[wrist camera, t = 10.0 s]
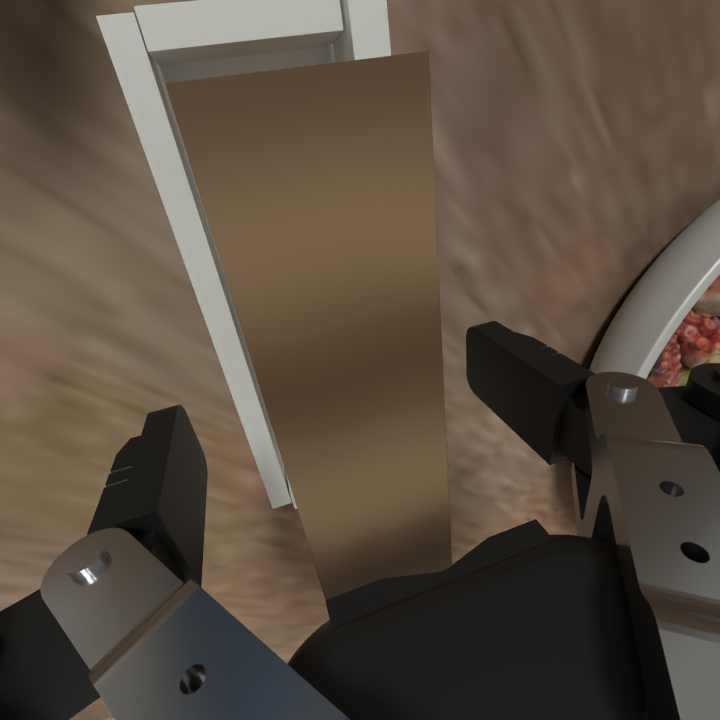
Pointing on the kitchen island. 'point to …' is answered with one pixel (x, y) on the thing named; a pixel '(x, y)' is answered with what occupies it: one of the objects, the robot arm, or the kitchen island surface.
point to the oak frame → (336, 295)
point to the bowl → (670, 311)
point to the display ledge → (168, 154)
